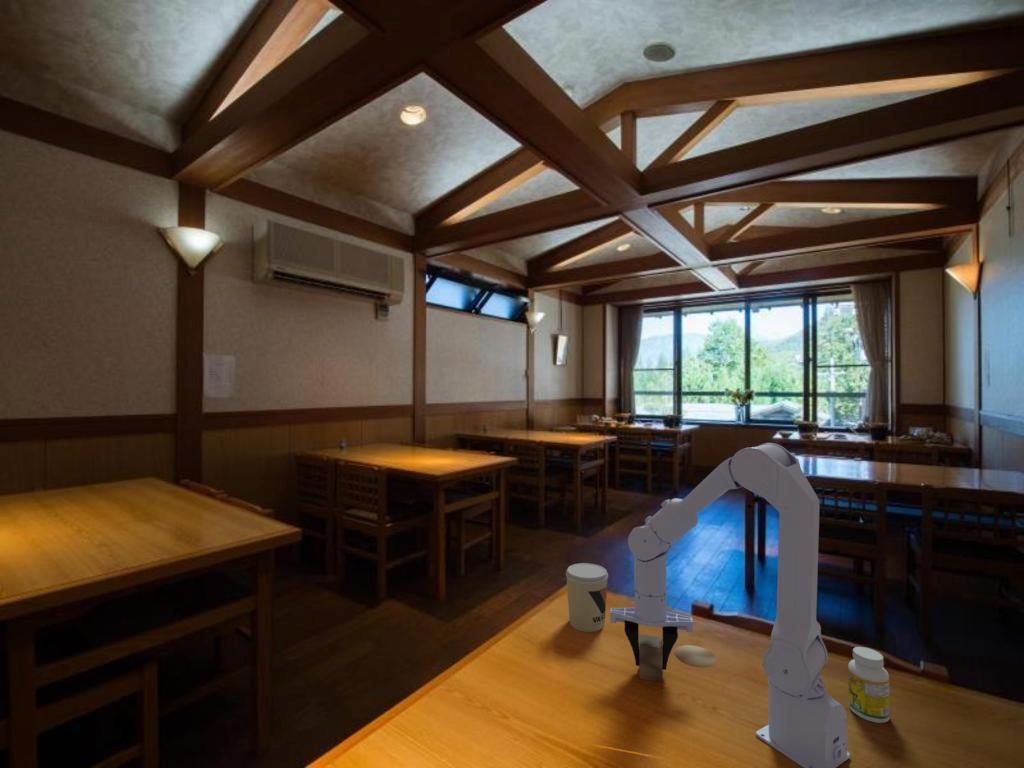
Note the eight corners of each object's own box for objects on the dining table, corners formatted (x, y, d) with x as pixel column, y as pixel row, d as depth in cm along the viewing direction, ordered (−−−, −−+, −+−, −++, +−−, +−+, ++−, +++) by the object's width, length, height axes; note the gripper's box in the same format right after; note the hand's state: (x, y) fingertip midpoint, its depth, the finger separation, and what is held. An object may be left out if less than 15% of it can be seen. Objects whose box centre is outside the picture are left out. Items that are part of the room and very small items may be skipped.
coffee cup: (598, 639, 101) (598, 581, 101) (558, 627, 106) (558, 572, 106) (614, 620, 108) (614, 567, 109) (577, 610, 114) (576, 559, 114)
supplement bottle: (895, 727, 74) (894, 665, 74) (853, 719, 76) (853, 658, 76) (882, 706, 79) (882, 648, 79) (844, 698, 81) (843, 641, 81)
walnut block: (661, 669, 89) (661, 637, 89) (662, 682, 85) (662, 648, 86) (639, 666, 90) (639, 634, 90) (639, 678, 86) (639, 645, 87)
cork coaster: (724, 660, 92) (724, 659, 92) (698, 672, 89) (698, 671, 89) (692, 642, 99) (692, 641, 99) (666, 652, 95) (666, 651, 95)
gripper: (690, 585, 90) (690, 658, 90) (611, 578, 94) (611, 647, 94) (694, 602, 83) (694, 680, 83) (609, 593, 87) (609, 668, 87)
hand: (650, 664), depth 88 cm, fingers closed on walnut block, 4 cm apart
